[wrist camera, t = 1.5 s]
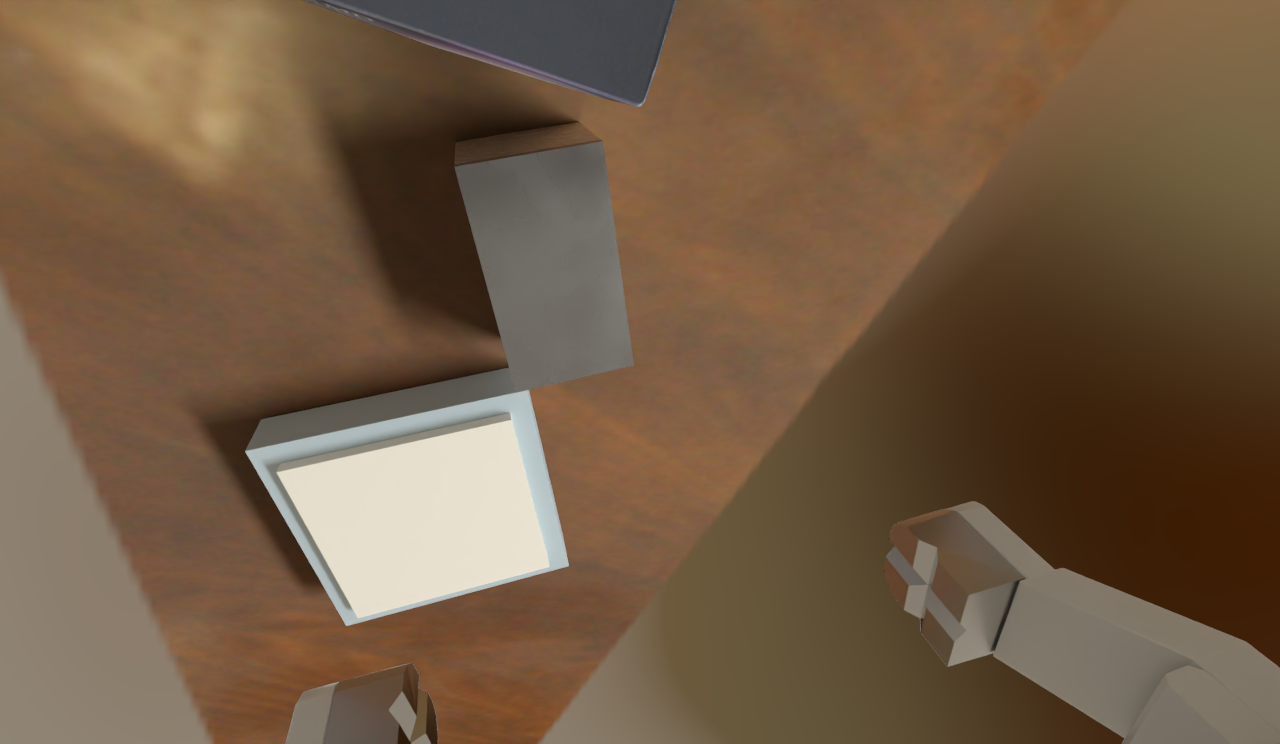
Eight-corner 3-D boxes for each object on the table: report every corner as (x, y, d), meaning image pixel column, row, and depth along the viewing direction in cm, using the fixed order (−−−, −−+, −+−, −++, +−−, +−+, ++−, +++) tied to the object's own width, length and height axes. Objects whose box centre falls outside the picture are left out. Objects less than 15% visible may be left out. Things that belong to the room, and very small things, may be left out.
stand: (261, 419, 27) (240, 459, 24) (522, 364, 29) (528, 396, 26) (353, 589, 33) (344, 636, 31) (562, 535, 35) (570, 574, 33)
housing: (455, 141, 23) (454, 166, 19) (578, 121, 24) (602, 141, 20) (507, 338, 28) (515, 393, 24) (609, 316, 29) (633, 365, 25)
